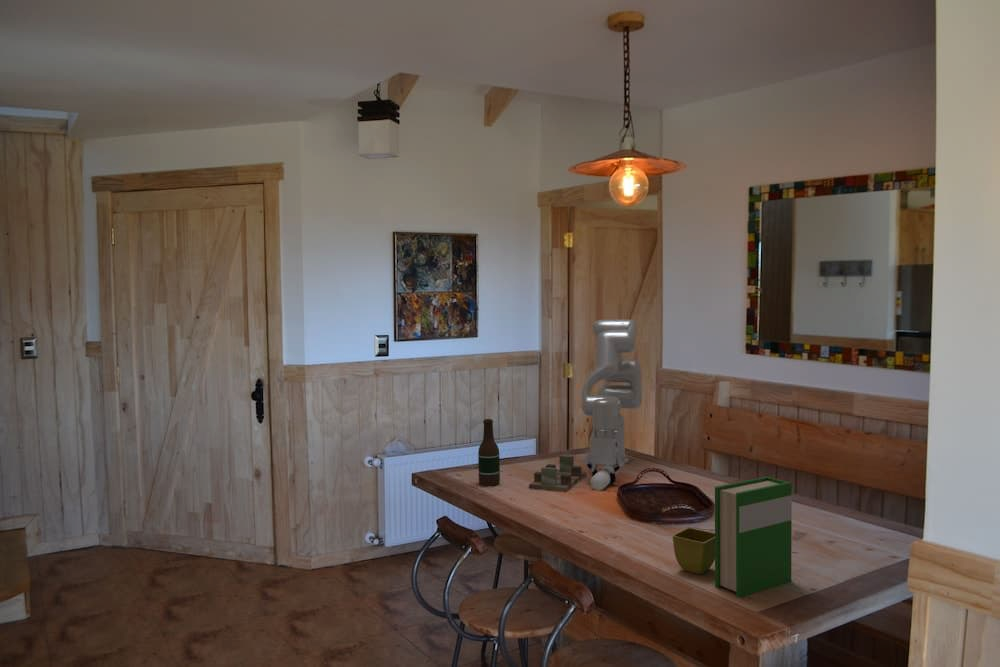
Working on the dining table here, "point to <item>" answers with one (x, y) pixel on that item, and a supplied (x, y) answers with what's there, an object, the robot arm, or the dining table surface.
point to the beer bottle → (488, 457)
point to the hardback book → (753, 535)
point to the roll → (601, 478)
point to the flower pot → (694, 549)
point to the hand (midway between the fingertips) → (603, 482)
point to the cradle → (558, 475)
